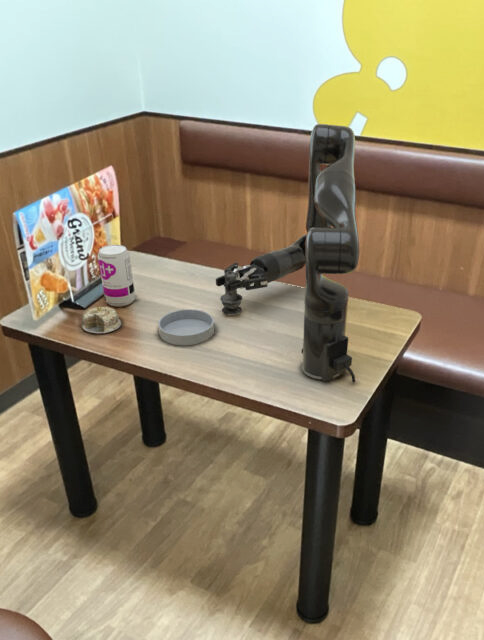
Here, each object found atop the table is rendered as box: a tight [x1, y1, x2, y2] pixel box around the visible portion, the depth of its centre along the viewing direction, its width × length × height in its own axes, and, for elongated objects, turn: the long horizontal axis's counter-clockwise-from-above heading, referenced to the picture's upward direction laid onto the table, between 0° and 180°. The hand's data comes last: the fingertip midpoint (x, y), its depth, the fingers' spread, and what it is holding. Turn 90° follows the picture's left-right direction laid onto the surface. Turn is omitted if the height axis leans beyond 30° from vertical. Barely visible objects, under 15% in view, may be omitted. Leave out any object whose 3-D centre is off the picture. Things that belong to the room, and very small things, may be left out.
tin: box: [157, 308, 215, 346], centre depth 153 cm, size 14×14×3 cm
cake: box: [81, 306, 122, 334], centre depth 155 cm, size 10×10×5 cm
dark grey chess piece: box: [219, 268, 243, 316], centre depth 158 cm, size 6×6×12 cm
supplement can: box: [97, 244, 136, 308], centre depth 164 cm, size 8×8×15 cm
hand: (222, 285), depth 155 cm, fingers closed on dark grey chess piece, 3 cm apart
